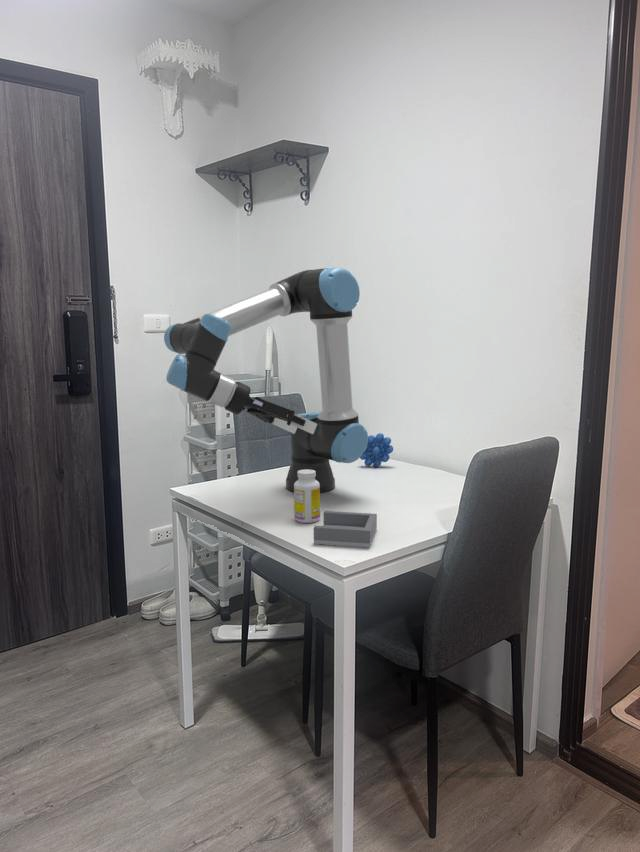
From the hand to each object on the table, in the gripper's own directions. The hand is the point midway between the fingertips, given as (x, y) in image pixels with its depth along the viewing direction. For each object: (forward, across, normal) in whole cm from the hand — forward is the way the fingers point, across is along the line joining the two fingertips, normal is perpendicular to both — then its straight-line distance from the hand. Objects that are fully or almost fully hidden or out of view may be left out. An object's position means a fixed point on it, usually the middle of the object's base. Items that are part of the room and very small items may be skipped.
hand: (305, 429), depth 164 cm
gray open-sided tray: (+15, +13, -22) cm, 29 cm away
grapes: (+46, -48, +5) cm, 67 cm away
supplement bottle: (+11, -2, -21) cm, 24 cm away
